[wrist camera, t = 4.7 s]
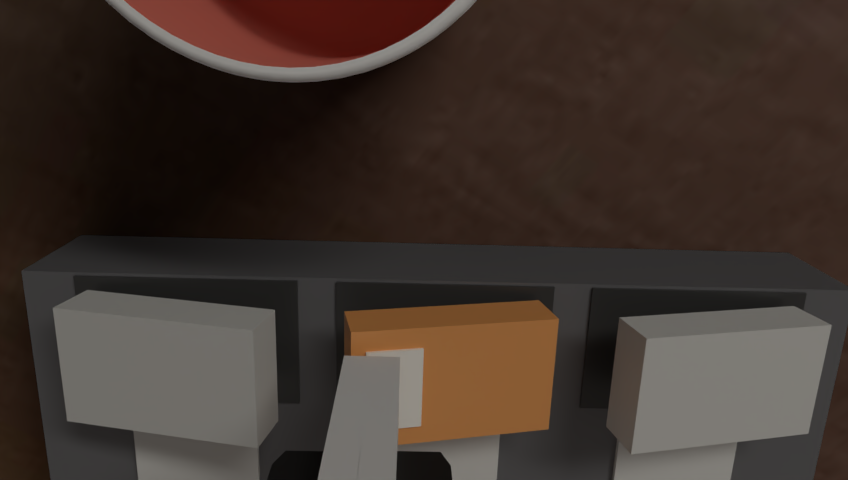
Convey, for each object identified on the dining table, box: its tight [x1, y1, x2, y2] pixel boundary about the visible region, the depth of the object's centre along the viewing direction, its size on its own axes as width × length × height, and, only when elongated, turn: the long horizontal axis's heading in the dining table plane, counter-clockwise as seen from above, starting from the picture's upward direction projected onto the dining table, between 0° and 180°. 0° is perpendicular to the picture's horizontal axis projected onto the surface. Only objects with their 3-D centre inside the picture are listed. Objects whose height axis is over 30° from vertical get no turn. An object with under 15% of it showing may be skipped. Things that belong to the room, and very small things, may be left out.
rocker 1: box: [53, 290, 278, 448], centre depth 20 cm, size 6×4×2 cm, turn 88°
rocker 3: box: [606, 306, 832, 454], centre depth 20 cm, size 6×4×2 cm, turn 89°
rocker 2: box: [344, 300, 559, 445], centre depth 20 cm, size 6×4×2 cm, turn 89°
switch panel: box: [22, 235, 848, 480], centre depth 24 cm, size 26×8×4 cm, turn 88°
